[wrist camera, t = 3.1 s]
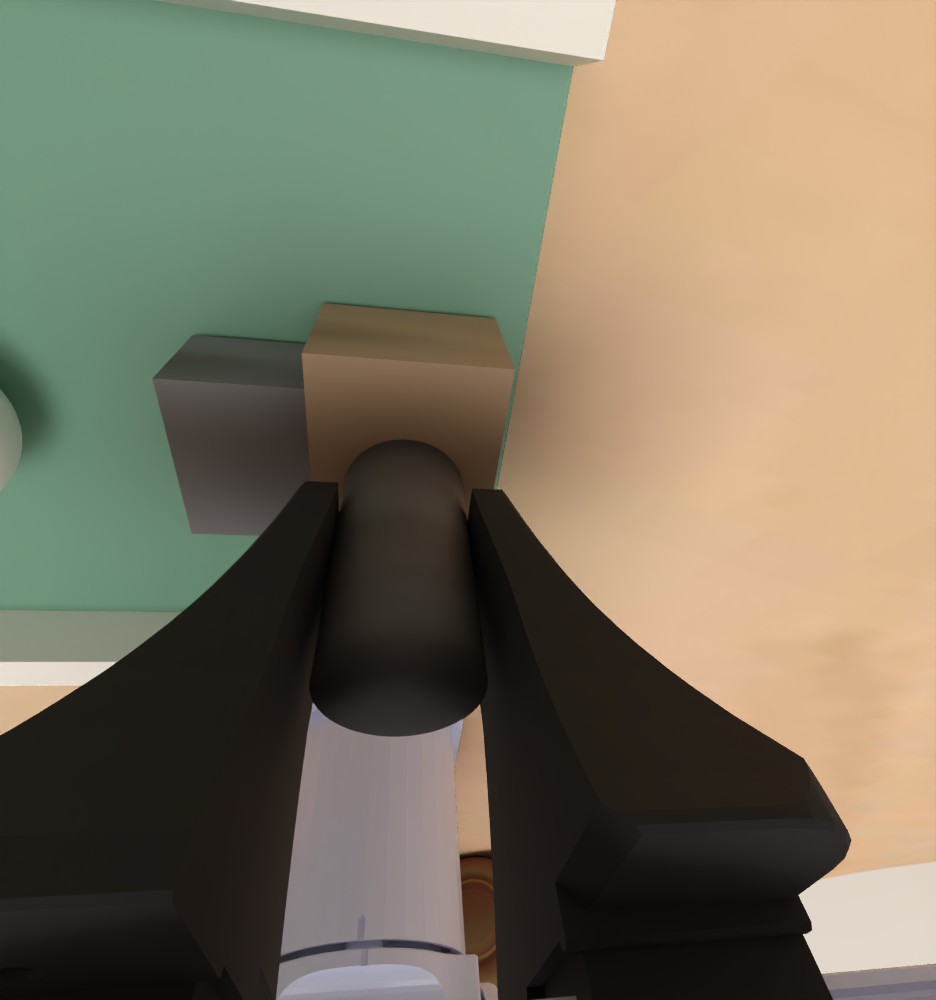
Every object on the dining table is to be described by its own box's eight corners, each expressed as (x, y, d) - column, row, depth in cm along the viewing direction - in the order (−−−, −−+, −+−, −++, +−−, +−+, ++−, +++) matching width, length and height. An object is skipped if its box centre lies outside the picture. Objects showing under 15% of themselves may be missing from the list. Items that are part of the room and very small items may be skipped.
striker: (466, 515, 16) (502, 783, 10) (226, 505, 15) (92, 796, 9) (495, 318, 13) (579, 539, 6) (183, 290, 12) (-89, 517, 5)
